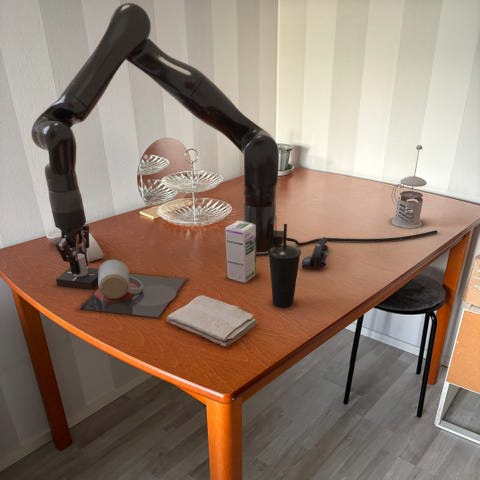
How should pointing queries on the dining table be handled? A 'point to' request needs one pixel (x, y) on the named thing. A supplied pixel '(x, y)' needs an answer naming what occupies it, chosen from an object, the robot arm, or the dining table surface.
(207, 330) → the washcloth
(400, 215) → the french press
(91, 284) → the control box
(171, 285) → the hob
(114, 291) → the ceramic mug
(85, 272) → the hob knob
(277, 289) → the drinking cup
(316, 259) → the can opener
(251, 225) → the syrup box
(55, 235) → the spoon rest
